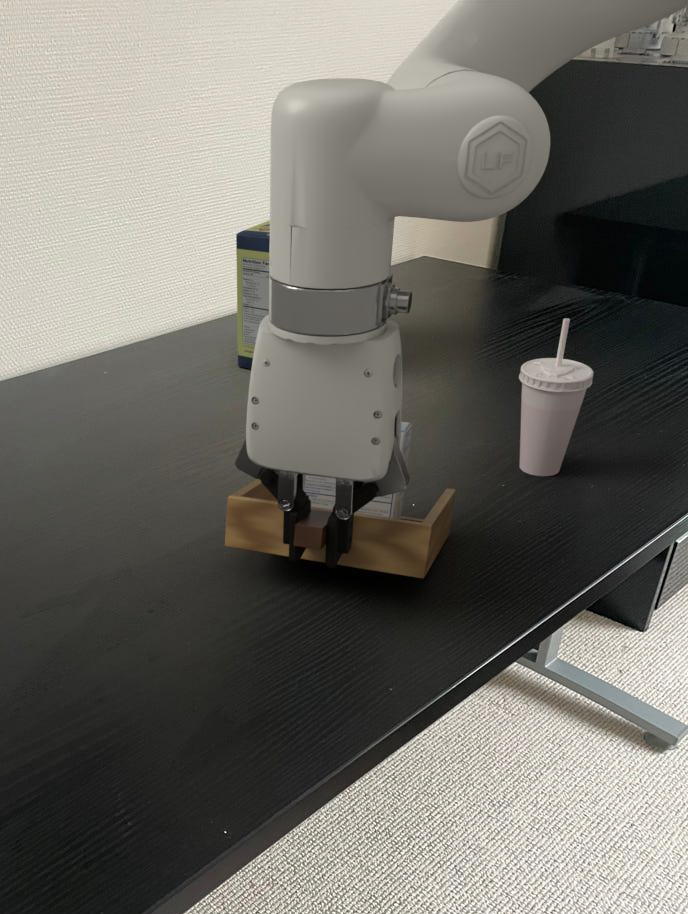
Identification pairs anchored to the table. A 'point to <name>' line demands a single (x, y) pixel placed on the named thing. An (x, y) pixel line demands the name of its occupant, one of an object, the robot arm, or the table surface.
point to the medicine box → (385, 506)
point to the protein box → (251, 287)
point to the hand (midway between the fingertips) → (316, 554)
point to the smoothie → (550, 408)
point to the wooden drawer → (373, 541)
